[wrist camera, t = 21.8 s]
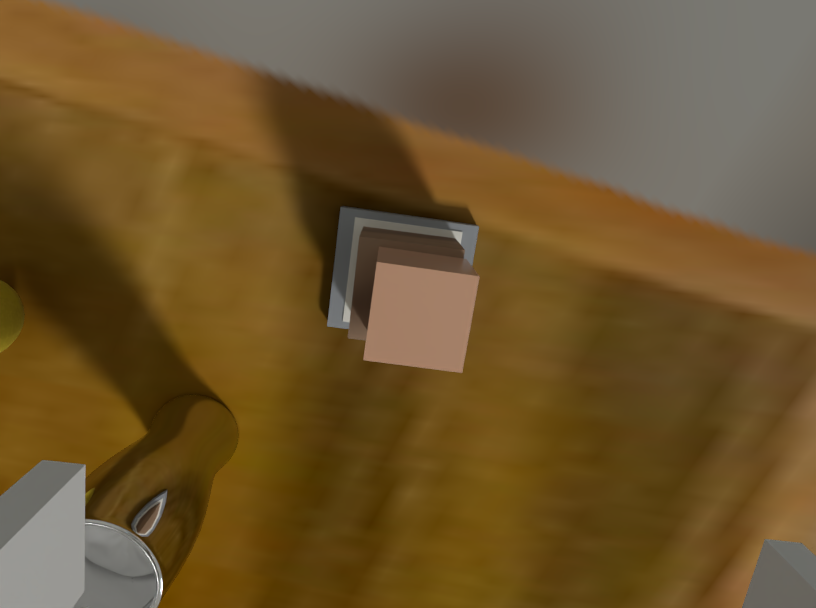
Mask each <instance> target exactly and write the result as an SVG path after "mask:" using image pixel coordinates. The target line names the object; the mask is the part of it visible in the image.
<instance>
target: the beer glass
mask: <svg viewBox="0 0 816 608" xmlns="http://www.w3.org/2000/svg"><path fill="white" fill-rule="evenodd" d="M238 438H239V433H238V427H237V424H236V421H235V419H234V417H233V416H232V414H231V413H230V411H229V410H228V409H227V408H226V407H225V406H224V405H222V404H221V403H219V402H218V401H216V400H214V399H212V398H210V397H207V396H203V395H193V394H192V395H183V396H180V397H177V398H174V399H172V400H171V401H169V402H168V403H166V404H165V405H164V406H163V407H162V408H161V409H160V410H159V411H158V413H157V414H156V416H155V418H154V420H153V422H152V424H151V426H150V428H149V430H148V432H147V433H146V434H145V435H144V436H143V437H142V438H140V439H139V440H137V441H136V442H134V443H132V444H131V445H129V446H128V447H126V448H124V449H123V450H121V451H120V452H118V453H117V454H115V455H114V456H112V457H111V458H109V459H108V460H107V461H105V462H104V463H103V464H102V465H100V466H99V467H98V468H96V469H95V470H94V471H93V472H92V473H91V474H90V475H89V476H87V477H86V478H85V584H84V592H83V594H82V595H81V597H80V598H79V599H78V601H77V602H76V604H75V605H74V606H73V608H158V606H159V604H160V601H161V600H162V598H163V597H164V595H165V594H166V592H167V591H168V589H169V588H170V586H171V585H172V583H173V582H174V580H175V578H176V577H177V575H178V574H179V572H180V571H181V569H182V567H183V565H184V564H185V562H186V560H187V558H188V556H189V555H190V553H191V551H192V549H193V546H194V544H195V542H196V540H197V538H198V536H199V533H200V531H201V528H202V524H203V521H204V518H205V515H206V511H207V507H208V503H209V498H210V494H211V489H212V484H213V480H214V477H215V475H216V473H217V472H218V471H219V470H220V469H221V468H222V467H223V466H224V465H225V464H226V463H227V462H228V461H229V460H230V459H231V457H232V456H233V454H234V452H235V450H236V448H237V444H238Z"/></svg>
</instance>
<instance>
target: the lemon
mask: <svg viewBox="0 0 816 608" xmlns="http://www.w3.org/2000/svg"><path fill="white" fill-rule="evenodd" d="M24 316H25V313H24V307H23V304H22V301H21V299H20V297H19V296H18V294H17V293H16V291H15V290H14V289H13V288H12V287H10V286H9V285H8V284H7V283H5V282H3V281H2V280H0V353H1V352H2V351H4V350H5V349H6V348H8V347H9V346H10V345H11V344H12V343H13V341H14V340H15V339H16V338H17V337H18V335H19V334H20V331H21V329H22V327H23V324H24Z"/></svg>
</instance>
